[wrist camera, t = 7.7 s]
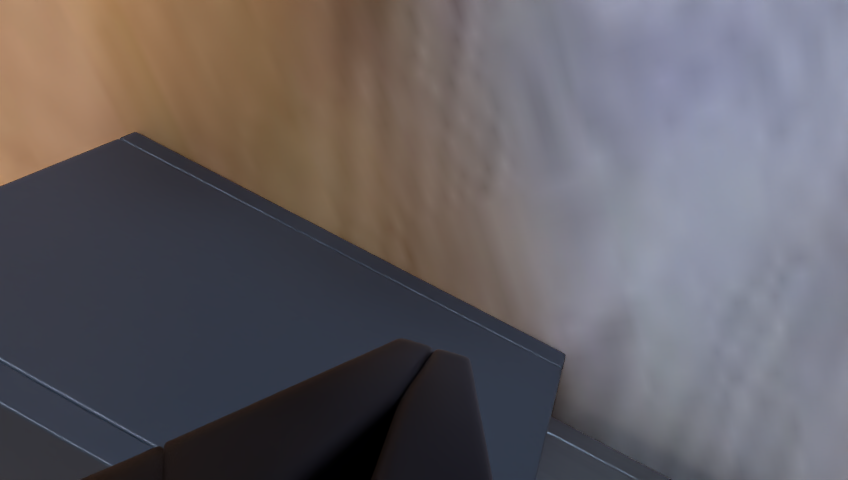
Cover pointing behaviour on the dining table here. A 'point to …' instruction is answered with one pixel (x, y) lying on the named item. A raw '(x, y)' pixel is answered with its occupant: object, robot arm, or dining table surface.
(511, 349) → the cabinet
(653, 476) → the drawer
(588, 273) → the dining table surface
